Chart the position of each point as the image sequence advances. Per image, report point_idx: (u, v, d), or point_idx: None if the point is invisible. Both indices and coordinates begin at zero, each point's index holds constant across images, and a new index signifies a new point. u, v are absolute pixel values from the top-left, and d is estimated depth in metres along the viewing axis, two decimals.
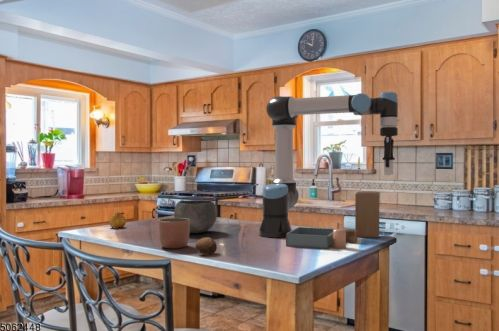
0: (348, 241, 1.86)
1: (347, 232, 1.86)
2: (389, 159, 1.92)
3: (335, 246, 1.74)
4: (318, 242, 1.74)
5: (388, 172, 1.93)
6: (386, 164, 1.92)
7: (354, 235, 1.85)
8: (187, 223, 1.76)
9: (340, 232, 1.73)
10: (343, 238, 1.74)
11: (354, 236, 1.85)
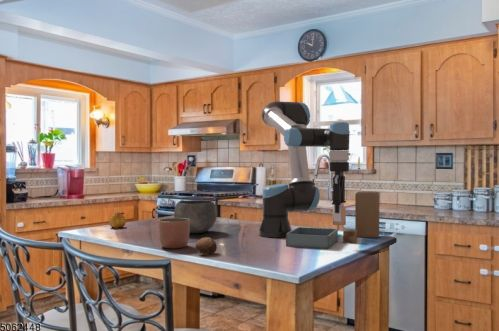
0: (348, 241, 1.86)
1: (347, 232, 1.86)
2: (339, 204, 1.72)
3: (335, 223, 1.75)
4: (318, 242, 1.74)
5: (338, 218, 1.73)
6: (336, 209, 1.72)
7: (354, 235, 1.85)
8: (187, 223, 1.76)
9: None
10: (343, 215, 1.74)
11: (354, 236, 1.85)
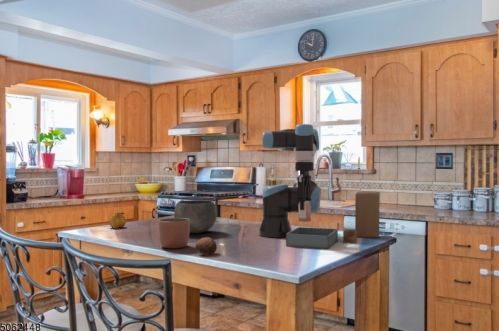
0: (348, 241, 1.86)
1: (347, 232, 1.86)
2: (303, 201, 1.82)
3: (300, 219, 1.84)
4: (318, 242, 1.74)
5: (303, 215, 1.83)
6: (300, 207, 1.82)
7: (354, 235, 1.85)
8: (187, 223, 1.76)
9: None
10: (308, 211, 1.84)
11: (354, 236, 1.85)
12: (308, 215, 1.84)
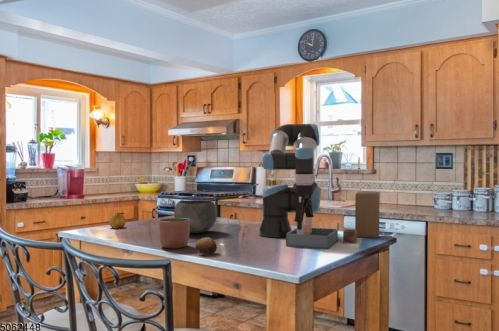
0: (348, 241, 1.86)
1: (347, 232, 1.86)
2: (301, 221, 1.78)
3: None
4: (318, 242, 1.74)
5: None
6: (298, 226, 1.79)
7: (354, 235, 1.85)
8: (187, 223, 1.76)
9: (305, 227, 1.84)
10: (308, 232, 1.84)
11: (354, 236, 1.85)
12: None
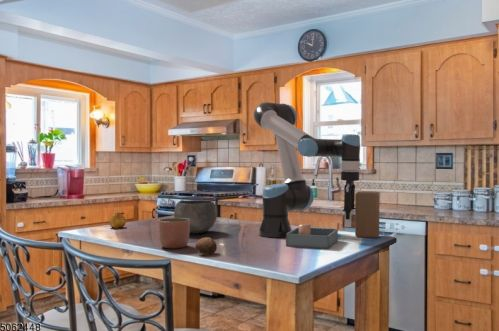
0: None
1: None
2: (349, 211, 1.84)
3: None
4: (318, 242, 1.74)
5: (348, 224, 1.85)
6: (346, 216, 1.84)
7: (353, 220, 1.85)
8: (187, 223, 1.76)
9: (305, 227, 1.84)
10: (308, 232, 1.84)
11: (353, 221, 1.85)
12: None
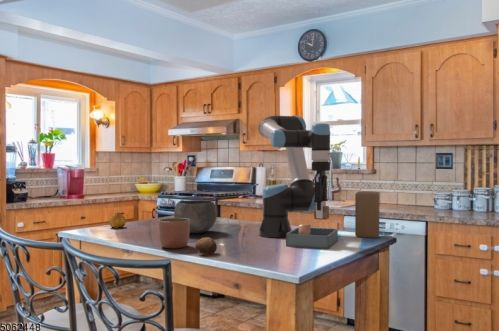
0: None
1: None
2: (320, 202, 1.79)
3: None
4: (318, 242, 1.74)
5: (320, 215, 1.80)
6: (317, 207, 1.79)
7: (325, 211, 1.80)
8: (187, 223, 1.76)
9: (305, 227, 1.84)
10: (308, 232, 1.84)
11: (325, 212, 1.80)
12: None
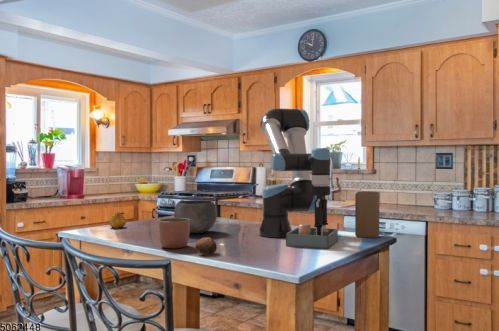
0: None
1: None
2: (321, 227, 1.79)
3: None
4: (318, 242, 1.74)
5: None
6: (317, 232, 1.79)
7: (325, 235, 1.80)
8: (187, 223, 1.76)
9: (305, 227, 1.84)
10: (308, 232, 1.84)
11: None
12: None
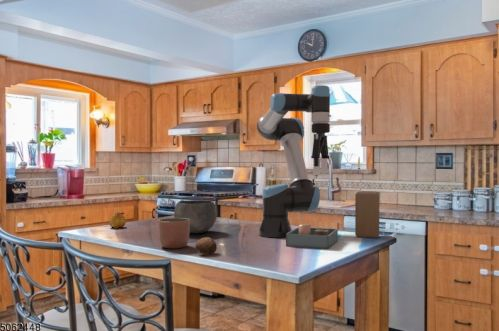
0: None
1: (318, 232, 1.81)
2: (318, 157, 1.77)
3: None
4: (318, 242, 1.74)
5: (317, 171, 1.79)
6: (315, 163, 1.78)
7: (325, 235, 1.80)
8: (187, 223, 1.76)
9: (305, 227, 1.84)
10: (308, 232, 1.84)
11: None
12: None
